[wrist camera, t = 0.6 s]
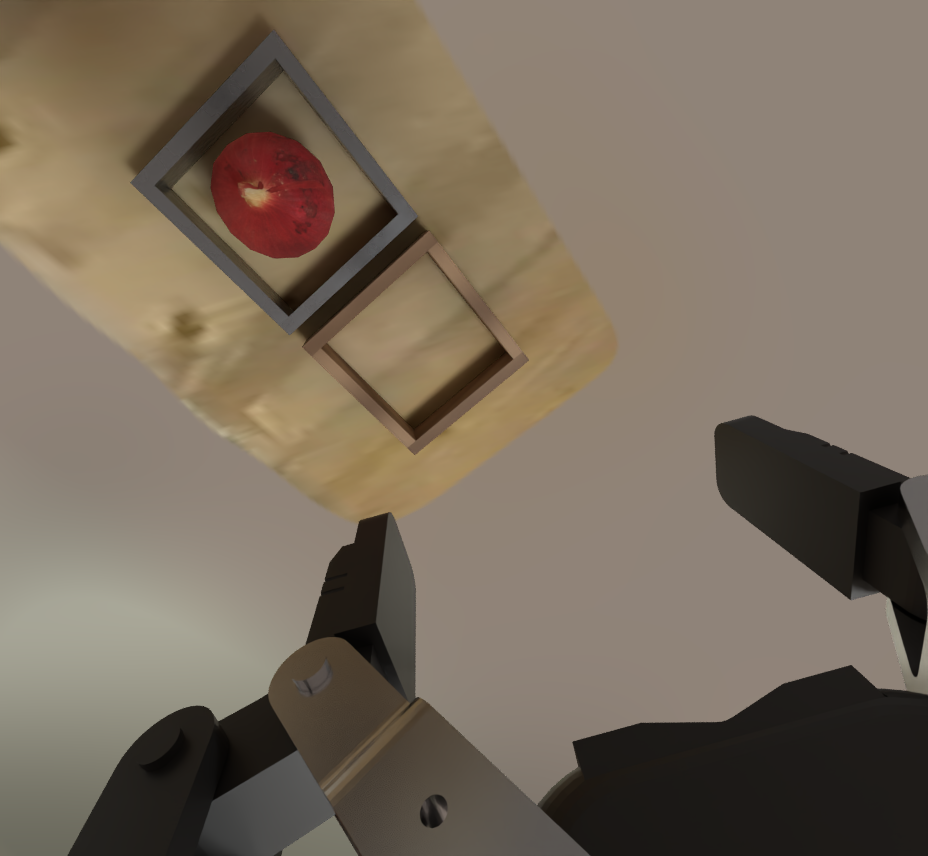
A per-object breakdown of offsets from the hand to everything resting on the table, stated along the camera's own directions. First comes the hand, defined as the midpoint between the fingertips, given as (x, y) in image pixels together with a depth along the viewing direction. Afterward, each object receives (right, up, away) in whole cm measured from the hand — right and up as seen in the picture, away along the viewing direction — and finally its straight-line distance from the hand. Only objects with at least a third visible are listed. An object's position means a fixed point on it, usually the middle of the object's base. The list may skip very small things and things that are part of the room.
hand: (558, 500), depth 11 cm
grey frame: (-13, +15, +16) cm, 25 cm away
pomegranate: (-13, +15, +16) cm, 25 cm away
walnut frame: (-5, +7, +21) cm, 23 cm away
